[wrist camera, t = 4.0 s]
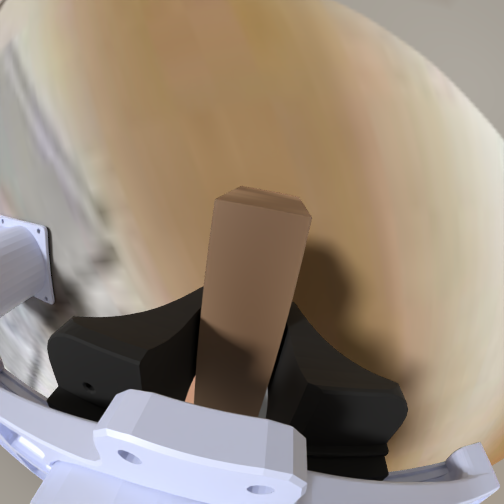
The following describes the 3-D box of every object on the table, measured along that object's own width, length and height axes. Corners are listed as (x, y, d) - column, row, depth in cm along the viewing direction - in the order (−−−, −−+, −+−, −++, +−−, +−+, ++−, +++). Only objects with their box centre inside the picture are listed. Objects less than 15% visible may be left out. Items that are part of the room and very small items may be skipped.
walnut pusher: (214, 367, 15) (192, 434, 10) (241, 185, 12) (214, 199, 7) (257, 375, 15) (247, 445, 10) (298, 196, 12) (311, 217, 7)
